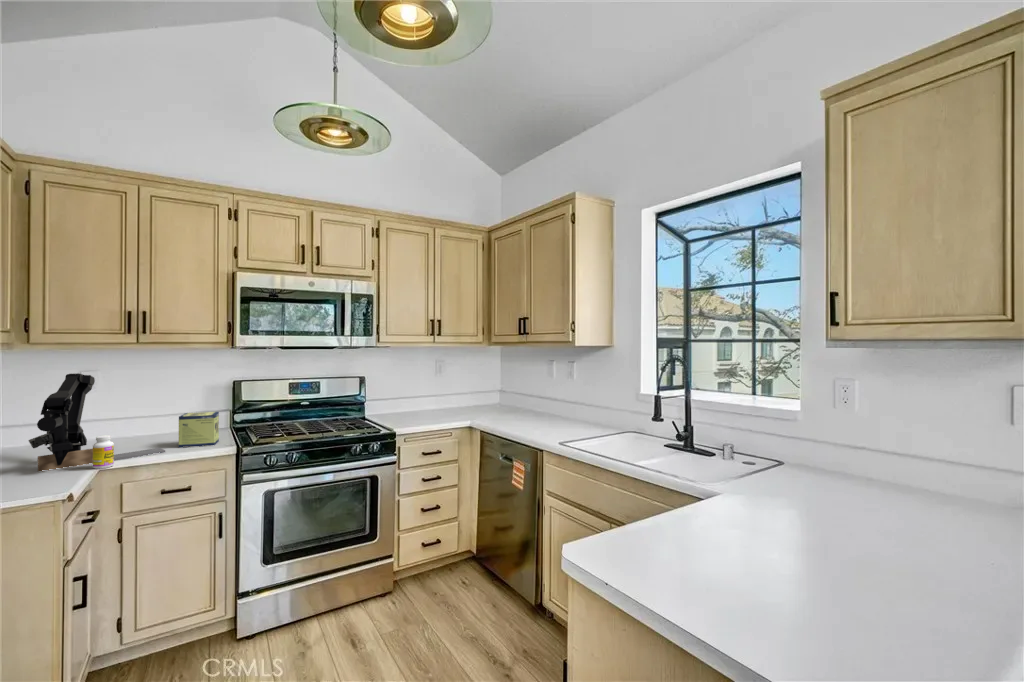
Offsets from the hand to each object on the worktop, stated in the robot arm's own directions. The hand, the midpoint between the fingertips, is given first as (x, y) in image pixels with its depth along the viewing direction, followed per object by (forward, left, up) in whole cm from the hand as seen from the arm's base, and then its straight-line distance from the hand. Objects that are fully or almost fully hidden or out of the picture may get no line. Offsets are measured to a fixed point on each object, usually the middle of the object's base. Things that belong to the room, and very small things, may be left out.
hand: (58, 464), depth 194 cm
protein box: (-3, +52, -2) cm, 52 cm away
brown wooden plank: (0, +3, -2) cm, 3 cm away
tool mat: (-1, +25, -2) cm, 25 cm away
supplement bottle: (+12, +12, -2) cm, 17 cm away
